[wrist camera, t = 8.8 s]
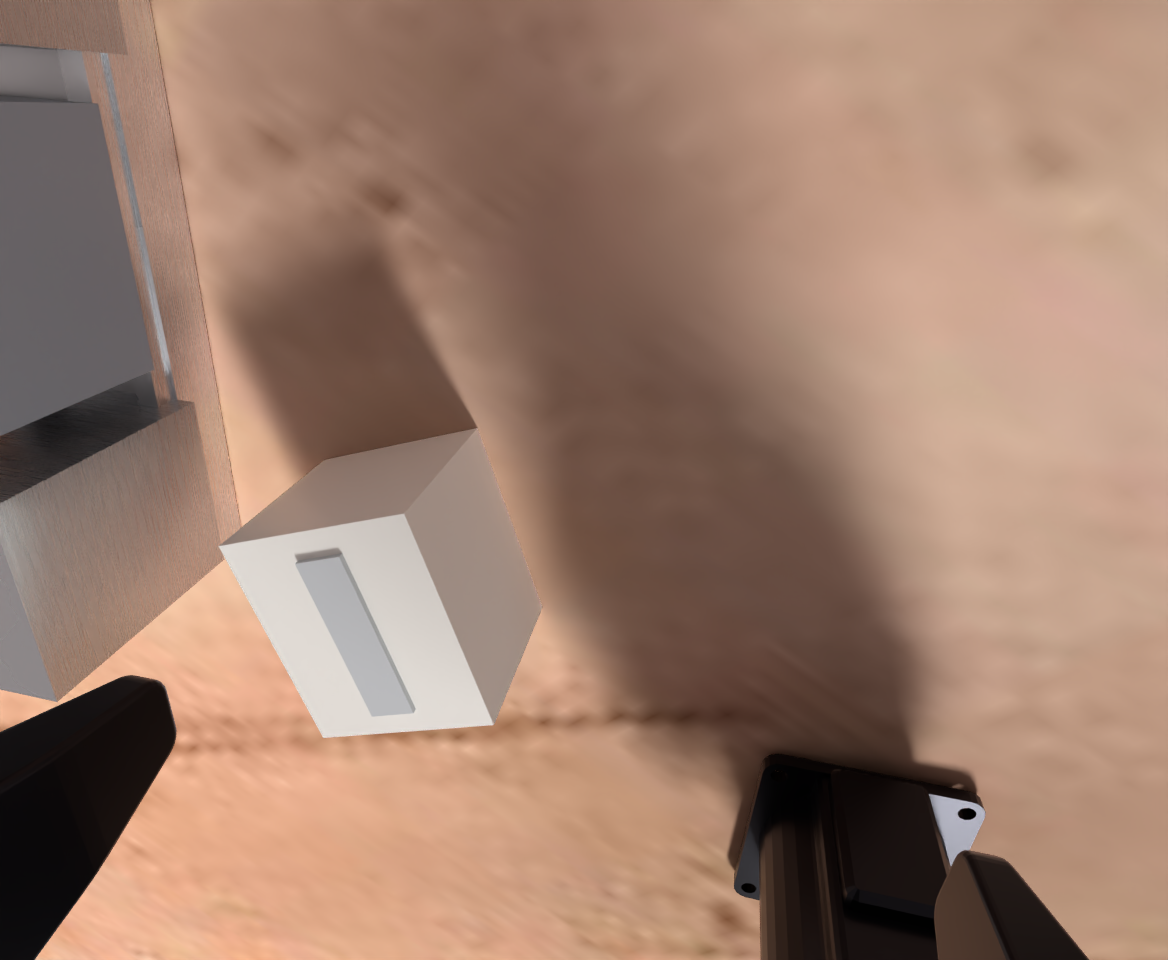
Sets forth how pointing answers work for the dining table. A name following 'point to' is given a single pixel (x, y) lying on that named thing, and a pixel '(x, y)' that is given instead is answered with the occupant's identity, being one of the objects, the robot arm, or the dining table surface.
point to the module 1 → (62, 263)
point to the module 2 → (392, 587)
